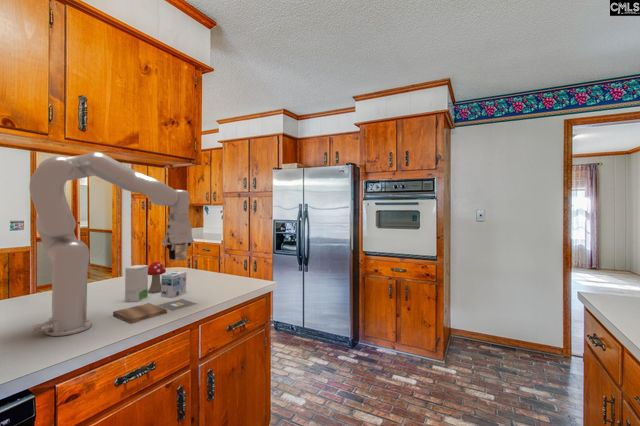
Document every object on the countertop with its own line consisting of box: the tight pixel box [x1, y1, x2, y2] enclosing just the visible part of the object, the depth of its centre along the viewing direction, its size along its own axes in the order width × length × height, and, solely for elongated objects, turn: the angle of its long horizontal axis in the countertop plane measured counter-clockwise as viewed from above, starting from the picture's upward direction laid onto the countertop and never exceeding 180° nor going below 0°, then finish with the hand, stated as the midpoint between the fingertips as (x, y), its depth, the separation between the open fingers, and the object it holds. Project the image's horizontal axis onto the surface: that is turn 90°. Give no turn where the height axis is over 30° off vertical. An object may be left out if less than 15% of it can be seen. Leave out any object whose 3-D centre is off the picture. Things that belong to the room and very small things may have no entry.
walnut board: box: [112, 302, 168, 324], centre depth 124 cm, size 14×14×2 cm
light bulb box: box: [160, 270, 187, 299], centre depth 153 cm, size 11×7×11 cm, turn 168°
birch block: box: [169, 243, 188, 262], centre depth 137 cm, size 5×5×7 cm
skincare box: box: [124, 264, 149, 303], centre depth 143 cm, size 8×7×16 cm
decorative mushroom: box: [148, 261, 167, 294], centre depth 158 cm, size 10×9×15 cm
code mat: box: [157, 298, 198, 312], centre depth 137 cm, size 12×12×1 cm
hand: (178, 258), depth 137 cm, fingers closed on birch block, 5 cm apart
